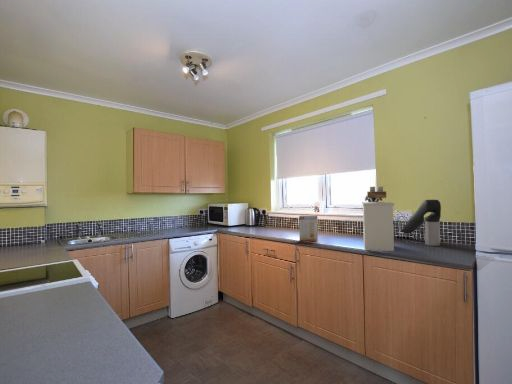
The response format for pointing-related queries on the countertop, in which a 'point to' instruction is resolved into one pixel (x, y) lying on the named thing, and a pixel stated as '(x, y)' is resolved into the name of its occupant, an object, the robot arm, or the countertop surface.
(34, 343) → the countertop surface
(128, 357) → the countertop surface
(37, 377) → the countertop surface
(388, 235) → the cabinet
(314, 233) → the cracker box
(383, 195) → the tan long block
